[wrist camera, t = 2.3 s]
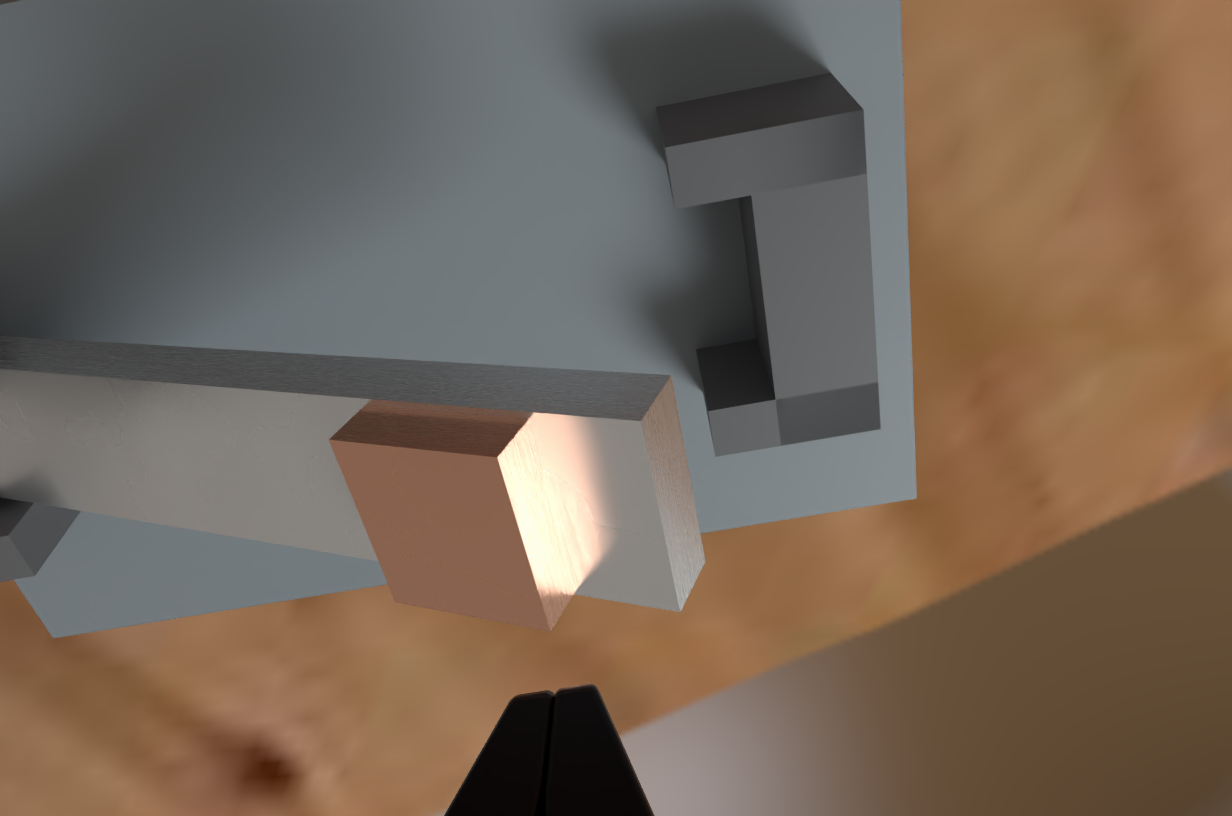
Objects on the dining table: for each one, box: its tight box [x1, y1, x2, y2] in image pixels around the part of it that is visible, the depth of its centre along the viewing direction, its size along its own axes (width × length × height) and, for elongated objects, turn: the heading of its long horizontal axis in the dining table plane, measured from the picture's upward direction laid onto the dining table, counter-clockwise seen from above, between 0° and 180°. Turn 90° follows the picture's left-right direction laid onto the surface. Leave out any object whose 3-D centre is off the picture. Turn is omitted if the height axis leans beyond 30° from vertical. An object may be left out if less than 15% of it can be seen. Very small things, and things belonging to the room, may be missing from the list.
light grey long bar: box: [0, 336, 705, 632], centre depth 15 cm, size 15×3×2 cm, turn 100°
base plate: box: [0, 0, 917, 638], centre depth 18 cm, size 20×13×4 cm, turn 101°
